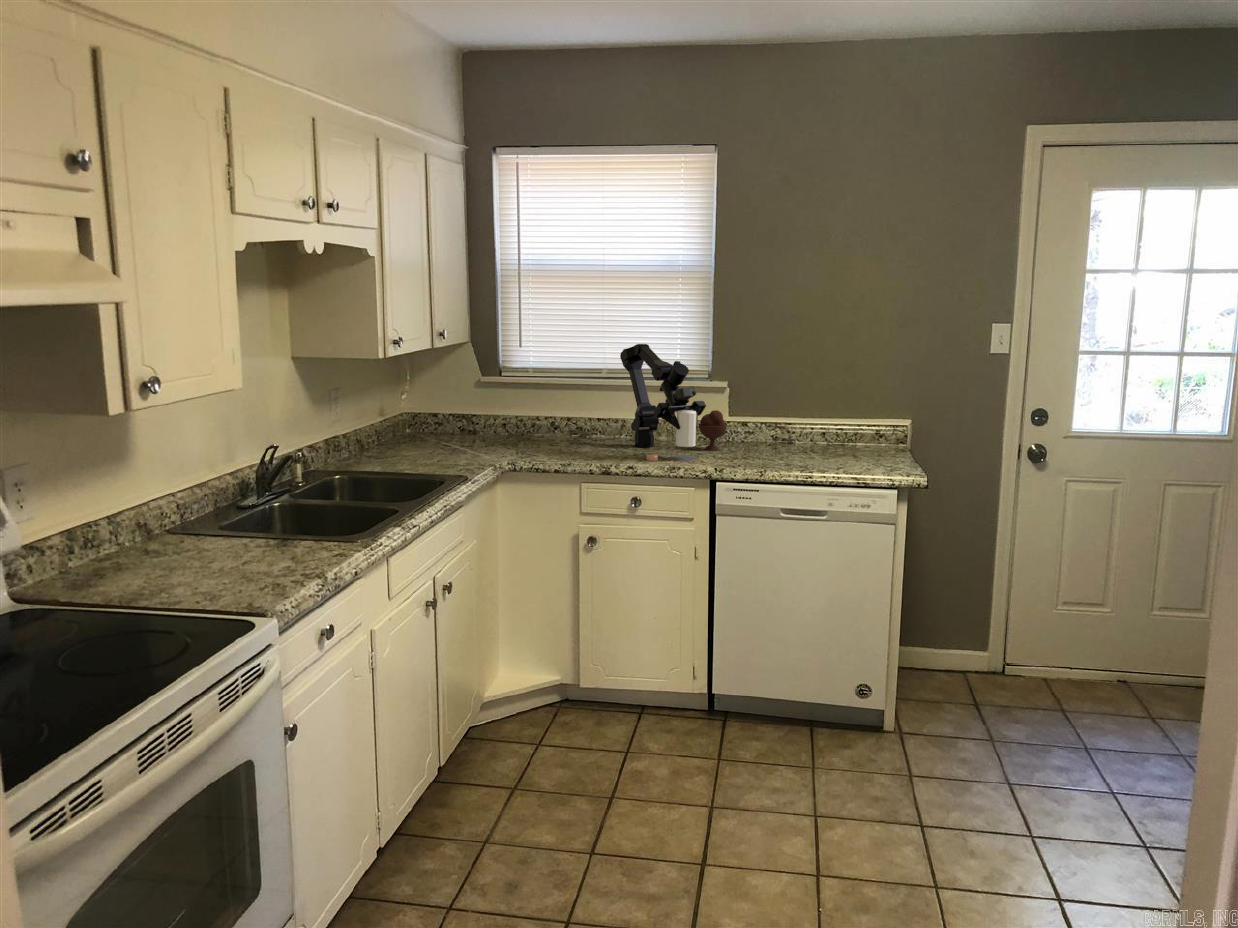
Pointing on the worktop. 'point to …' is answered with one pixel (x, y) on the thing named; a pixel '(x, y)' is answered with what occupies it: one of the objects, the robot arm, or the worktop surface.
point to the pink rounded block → (652, 457)
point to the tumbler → (686, 428)
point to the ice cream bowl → (712, 428)
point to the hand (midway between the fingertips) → (688, 428)
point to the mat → (682, 458)
